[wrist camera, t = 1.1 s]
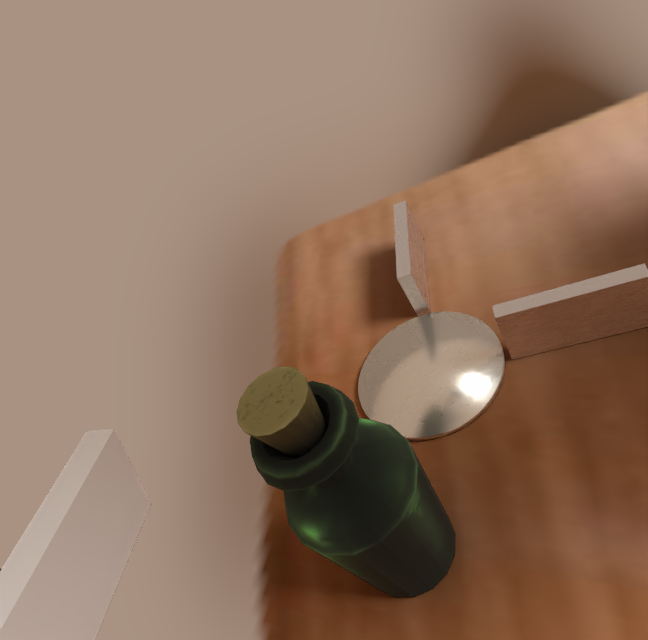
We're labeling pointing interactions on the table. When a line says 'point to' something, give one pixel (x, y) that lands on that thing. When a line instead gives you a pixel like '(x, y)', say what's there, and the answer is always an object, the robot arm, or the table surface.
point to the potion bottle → (347, 483)
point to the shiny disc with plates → (479, 341)
